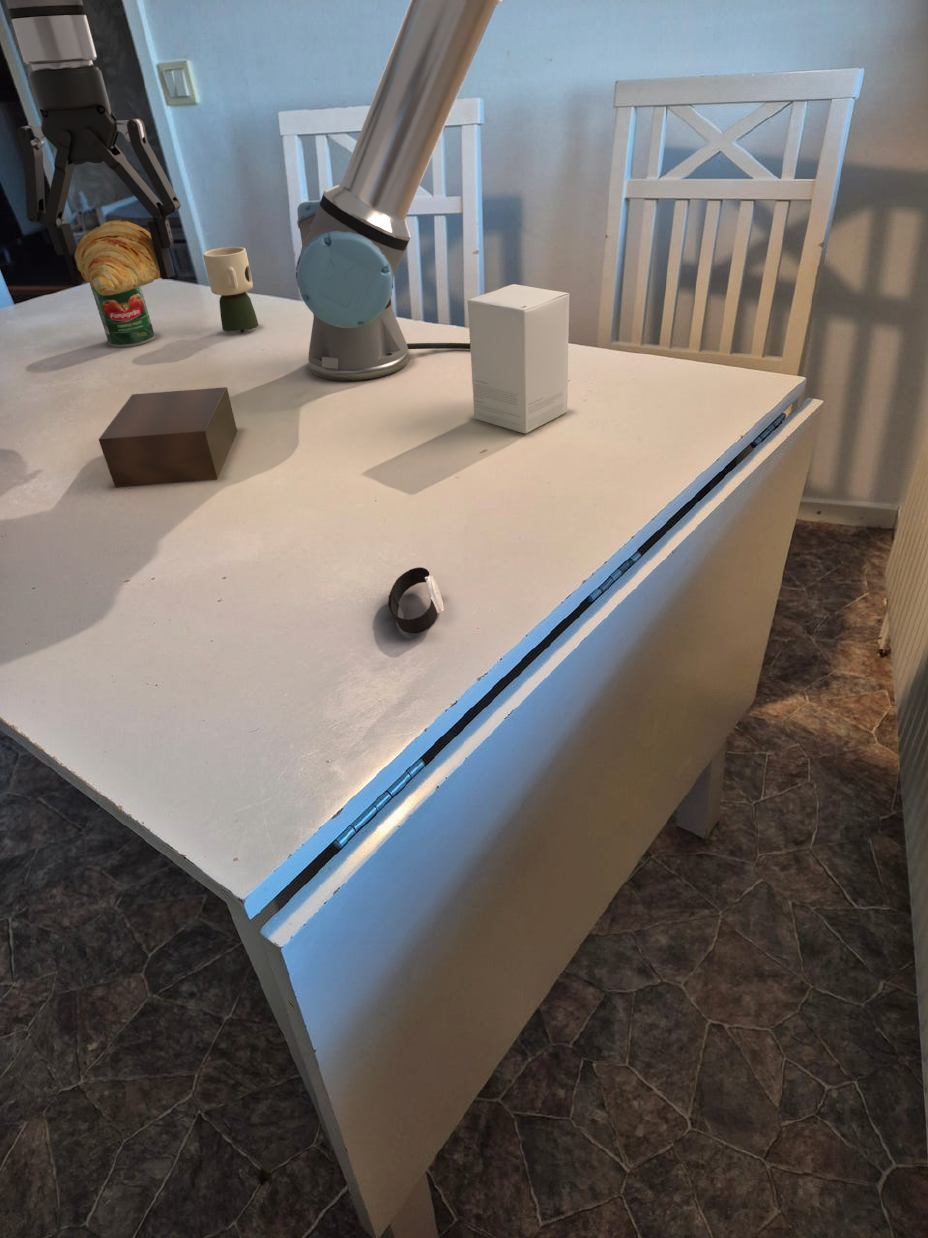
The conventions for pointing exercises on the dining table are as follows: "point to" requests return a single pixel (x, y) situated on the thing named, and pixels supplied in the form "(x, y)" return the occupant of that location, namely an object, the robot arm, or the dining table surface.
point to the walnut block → (170, 437)
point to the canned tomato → (125, 318)
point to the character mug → (231, 287)
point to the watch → (404, 584)
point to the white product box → (519, 356)
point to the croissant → (117, 257)
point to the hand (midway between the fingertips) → (124, 279)
